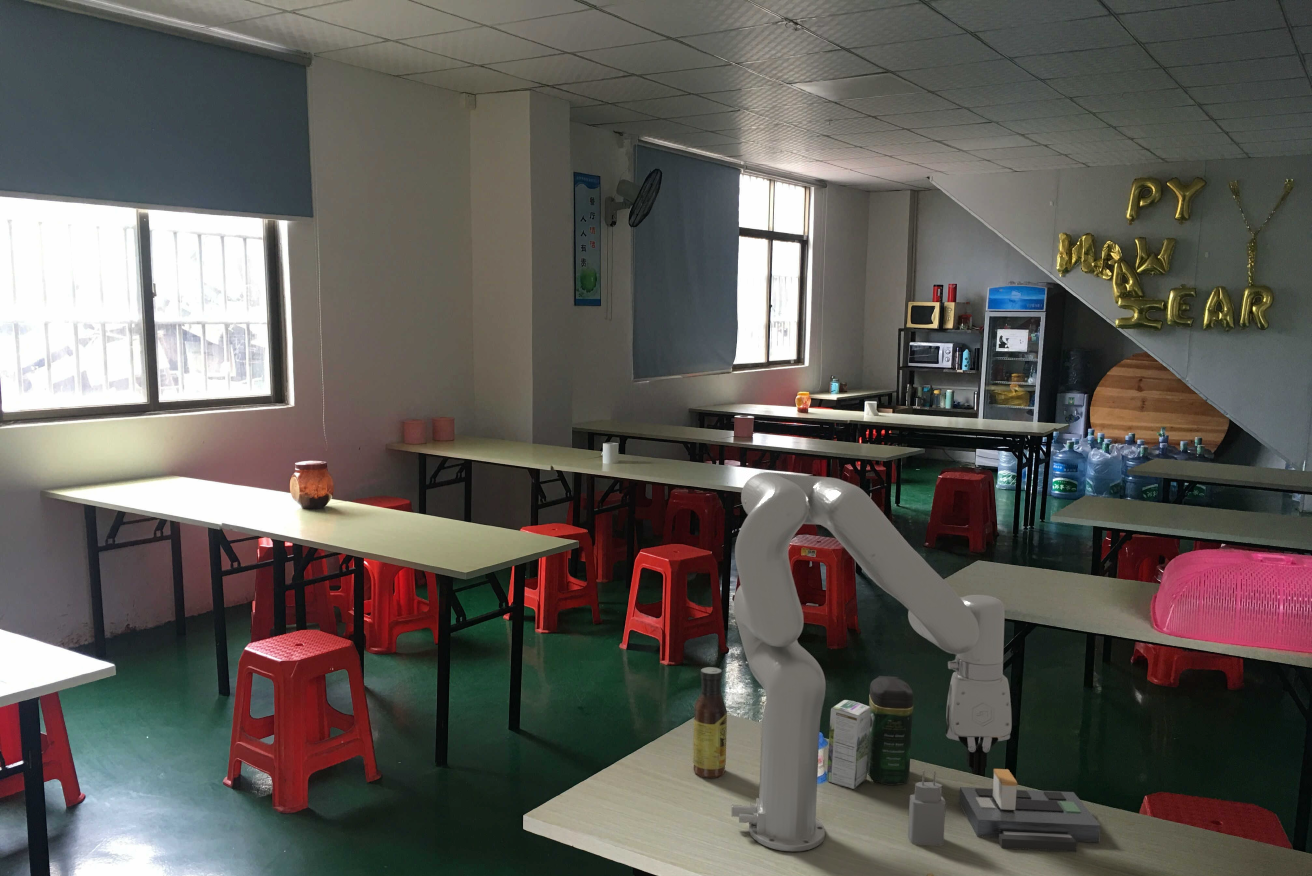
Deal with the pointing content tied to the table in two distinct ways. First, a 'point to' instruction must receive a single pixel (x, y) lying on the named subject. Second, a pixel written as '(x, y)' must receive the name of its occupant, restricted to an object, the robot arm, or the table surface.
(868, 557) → the robot arm
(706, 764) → the sauce bottle
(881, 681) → the coffee jar
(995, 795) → the lever
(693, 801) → the table surface
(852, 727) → the syrup box
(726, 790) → the table surface
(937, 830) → the power adapter
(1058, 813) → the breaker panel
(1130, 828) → the table surface
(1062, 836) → the dark grey bar
